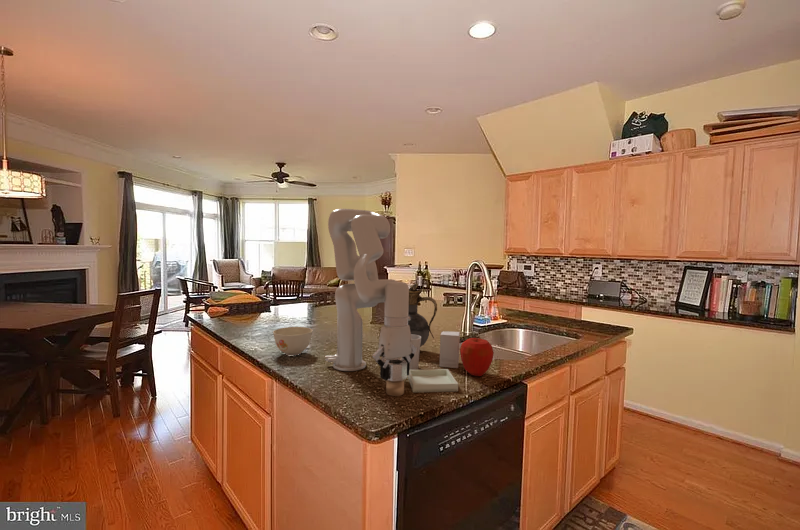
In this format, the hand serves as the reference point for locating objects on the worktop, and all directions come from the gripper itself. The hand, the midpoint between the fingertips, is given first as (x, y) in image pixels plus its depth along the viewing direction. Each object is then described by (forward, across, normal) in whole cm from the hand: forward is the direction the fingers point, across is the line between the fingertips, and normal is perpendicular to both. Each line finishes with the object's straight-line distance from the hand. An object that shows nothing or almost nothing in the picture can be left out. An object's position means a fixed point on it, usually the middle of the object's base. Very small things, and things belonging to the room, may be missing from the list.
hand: (395, 376), depth 120 cm
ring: (0, 0, 0) cm, 0 cm away
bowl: (+6, +12, -57) cm, 59 cm away
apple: (+5, -34, +3) cm, 35 cm away
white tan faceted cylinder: (+5, 0, 0) cm, 5 cm away
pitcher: (+6, -34, -33) cm, 48 cm away
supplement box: (+5, -34, -11) cm, 36 cm away
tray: (+5, -15, +1) cm, 16 cm away
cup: (+5, -19, -17) cm, 26 cm away
